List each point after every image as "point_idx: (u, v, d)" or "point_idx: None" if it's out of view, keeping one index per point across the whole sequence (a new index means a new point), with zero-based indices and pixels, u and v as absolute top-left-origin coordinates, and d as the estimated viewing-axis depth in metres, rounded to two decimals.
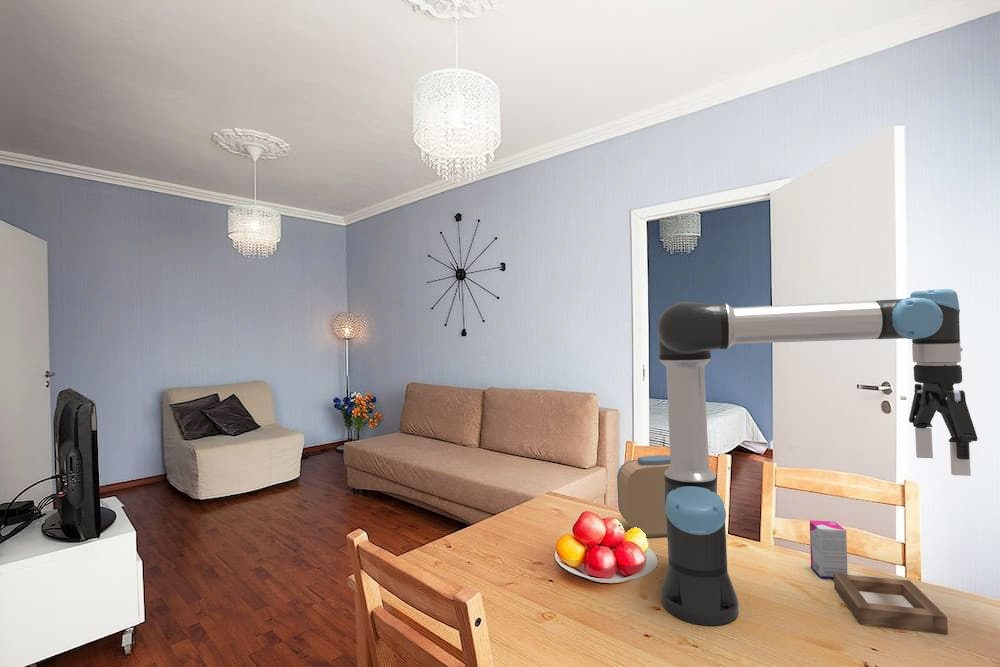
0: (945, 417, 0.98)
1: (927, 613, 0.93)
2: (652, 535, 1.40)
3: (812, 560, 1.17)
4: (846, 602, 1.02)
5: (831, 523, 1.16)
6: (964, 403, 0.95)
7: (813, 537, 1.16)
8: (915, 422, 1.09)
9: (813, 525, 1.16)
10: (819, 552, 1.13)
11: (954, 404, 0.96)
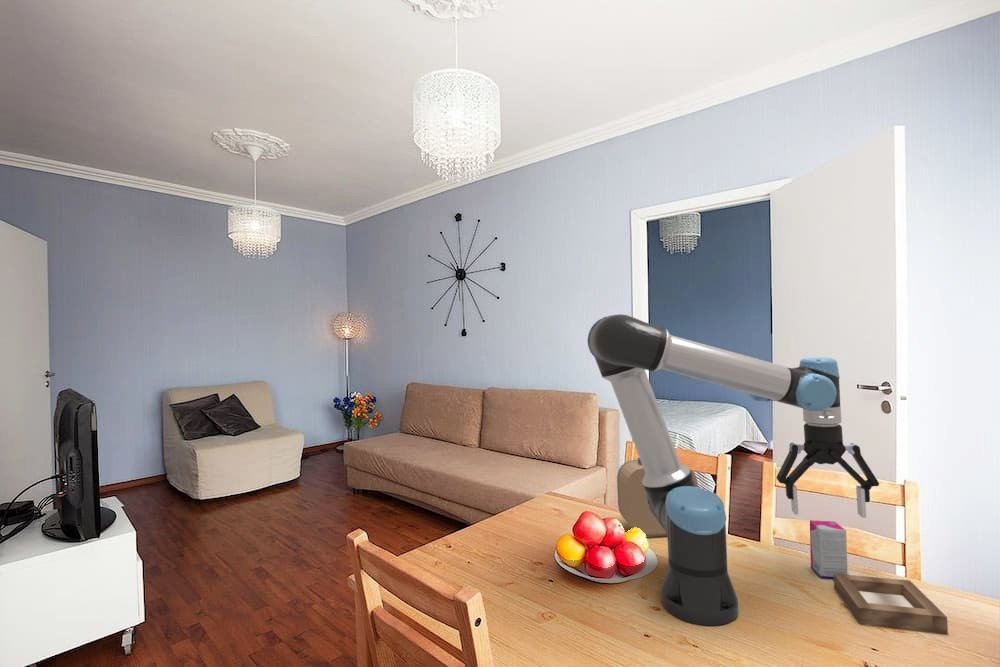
0: None
1: (927, 613, 0.93)
2: (652, 535, 1.40)
3: (812, 560, 1.17)
4: (846, 602, 1.02)
5: (831, 523, 1.16)
6: (790, 454, 1.17)
7: (813, 537, 1.16)
8: None
9: (813, 525, 1.16)
10: (819, 552, 1.13)
11: (788, 453, 1.18)
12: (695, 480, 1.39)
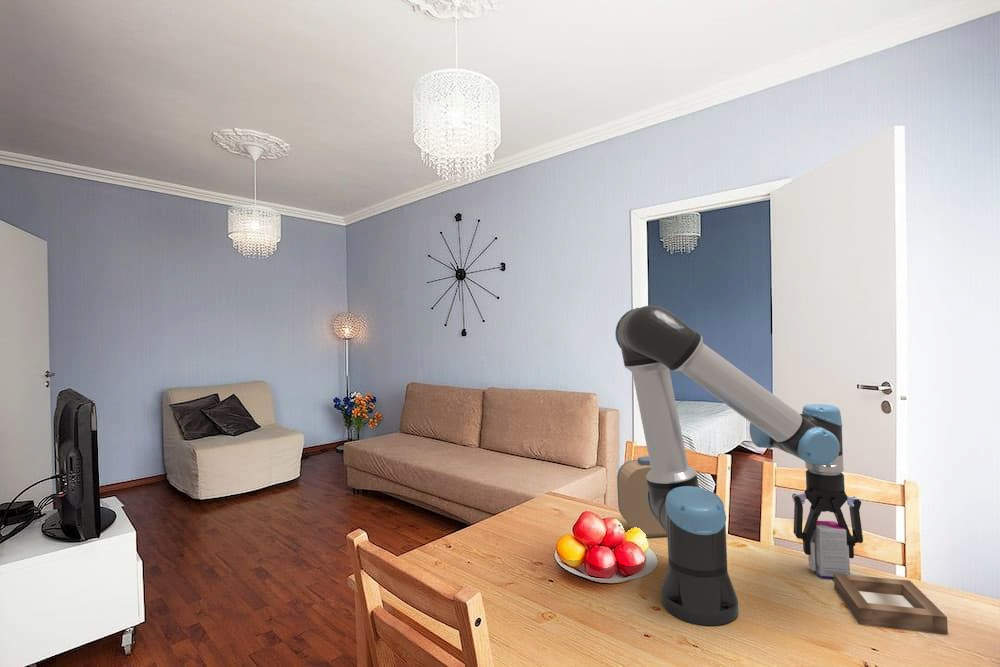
0: None
1: (927, 613, 0.93)
2: (652, 535, 1.40)
3: None
4: (846, 602, 1.02)
5: (831, 523, 1.16)
6: (796, 507, 1.16)
7: (813, 537, 1.16)
8: None
9: None
10: (819, 552, 1.13)
11: (795, 506, 1.18)
12: None
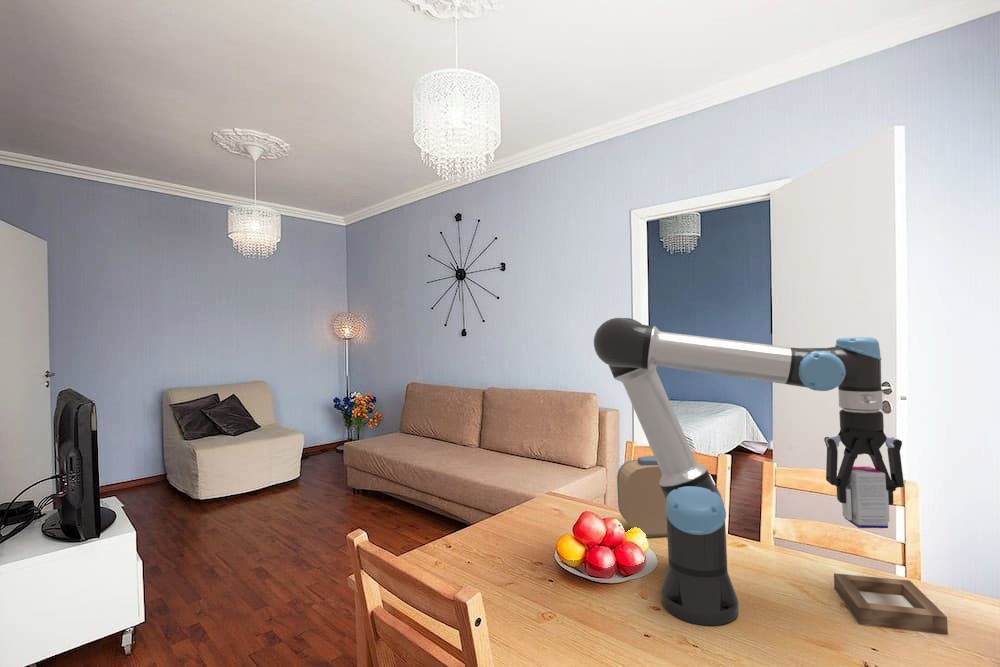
0: None
1: (927, 613, 0.93)
2: (652, 535, 1.40)
3: None
4: (846, 602, 1.02)
5: (866, 468, 1.05)
6: (830, 451, 1.05)
7: (847, 484, 1.05)
8: None
9: None
10: (856, 499, 1.02)
11: (827, 450, 1.07)
12: None
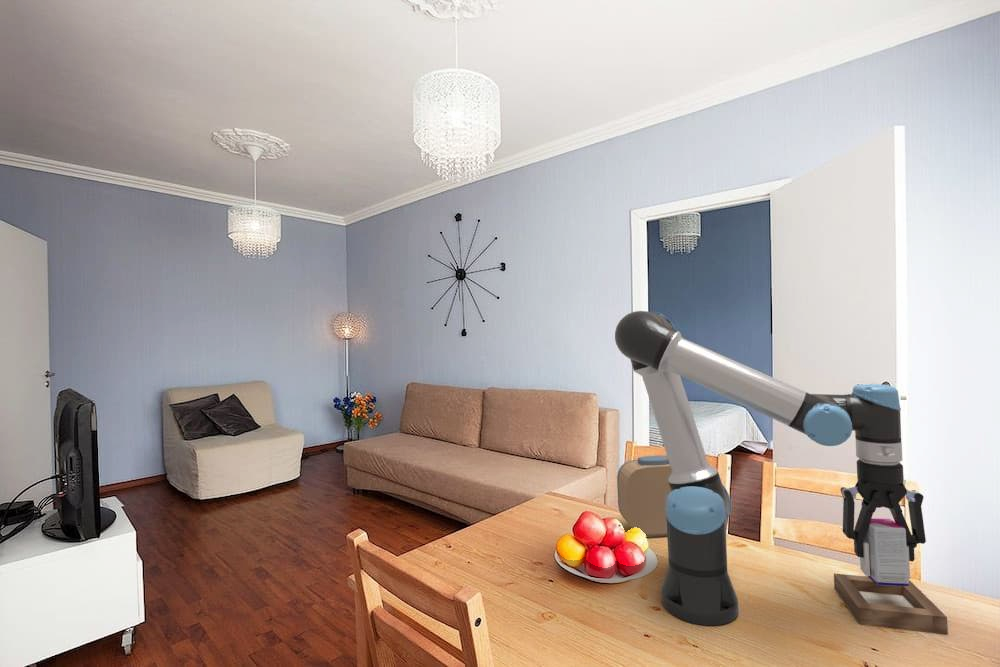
0: None
1: (927, 613, 0.93)
2: (652, 535, 1.40)
3: None
4: (846, 602, 1.02)
5: (886, 521, 1.01)
6: (847, 503, 1.01)
7: (865, 537, 1.01)
8: None
9: None
10: (874, 555, 0.98)
11: (844, 501, 1.03)
12: None
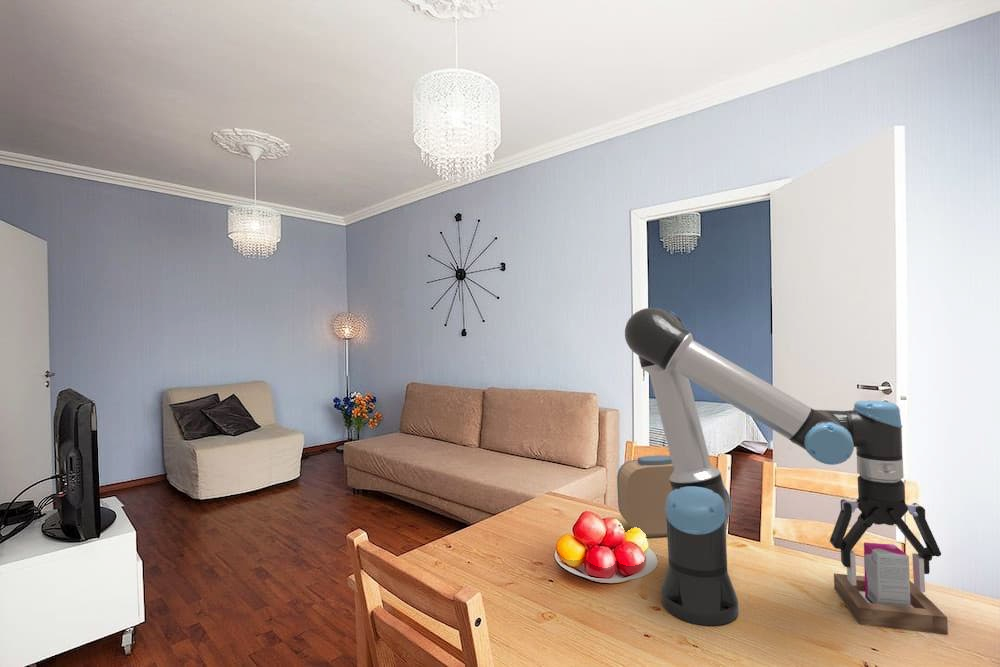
0: None
1: (927, 613, 0.93)
2: (652, 535, 1.40)
3: (867, 588, 1.02)
4: (846, 602, 1.02)
5: (890, 546, 1.01)
6: (844, 514, 1.01)
7: (868, 562, 1.01)
8: None
9: (868, 548, 1.01)
10: (876, 580, 0.98)
11: (840, 512, 1.03)
12: None
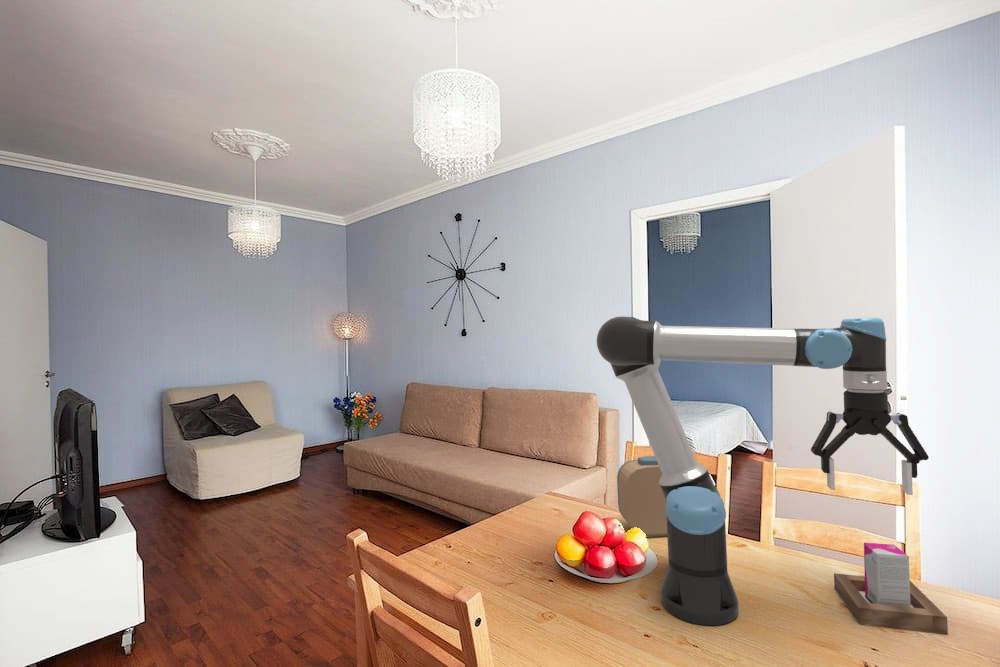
0: None
1: (927, 613, 0.93)
2: (652, 535, 1.40)
3: (867, 588, 1.02)
4: (846, 602, 1.02)
5: (890, 546, 1.01)
6: (828, 424, 1.06)
7: (868, 562, 1.01)
8: None
9: (868, 548, 1.01)
10: (876, 580, 0.98)
11: (825, 423, 1.07)
12: None
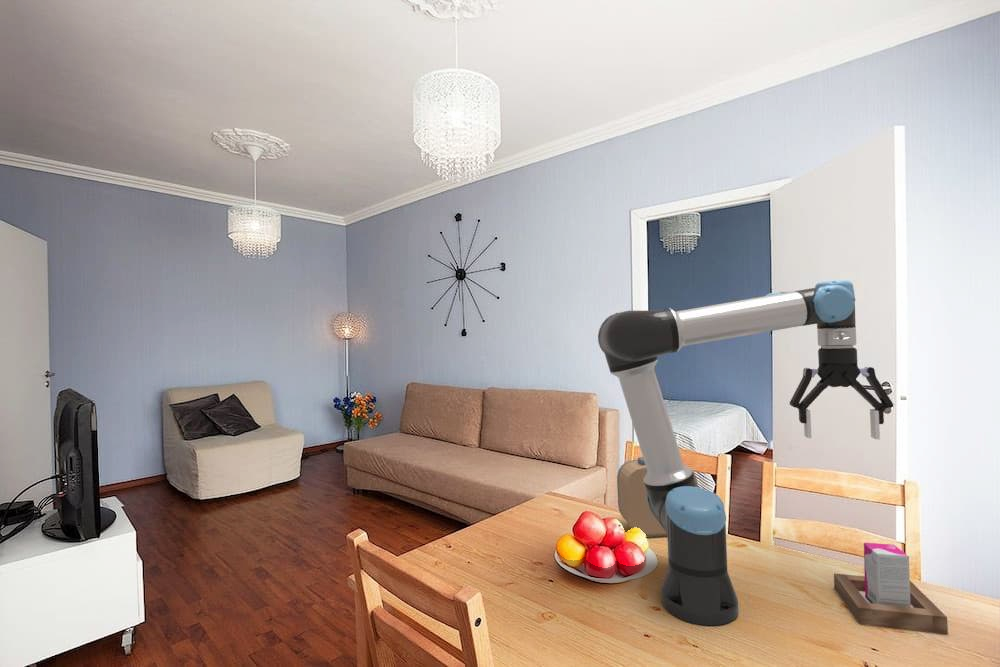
0: None
1: (927, 613, 0.93)
2: (652, 535, 1.40)
3: (867, 588, 1.02)
4: (846, 602, 1.02)
5: (890, 546, 1.01)
6: (804, 378, 1.16)
7: (868, 562, 1.01)
8: None
9: (868, 548, 1.01)
10: (876, 580, 0.98)
11: (802, 378, 1.18)
12: (695, 480, 1.39)
